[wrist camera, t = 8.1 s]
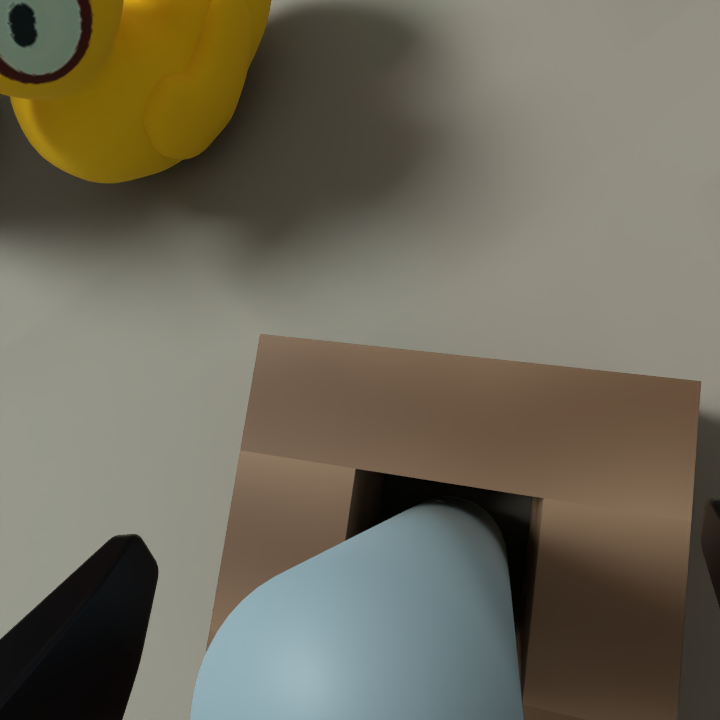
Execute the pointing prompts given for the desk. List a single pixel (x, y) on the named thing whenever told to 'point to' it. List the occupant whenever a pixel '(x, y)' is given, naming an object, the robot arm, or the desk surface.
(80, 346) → the desk surface
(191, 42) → the duckling
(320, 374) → the hole block
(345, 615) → the peg
